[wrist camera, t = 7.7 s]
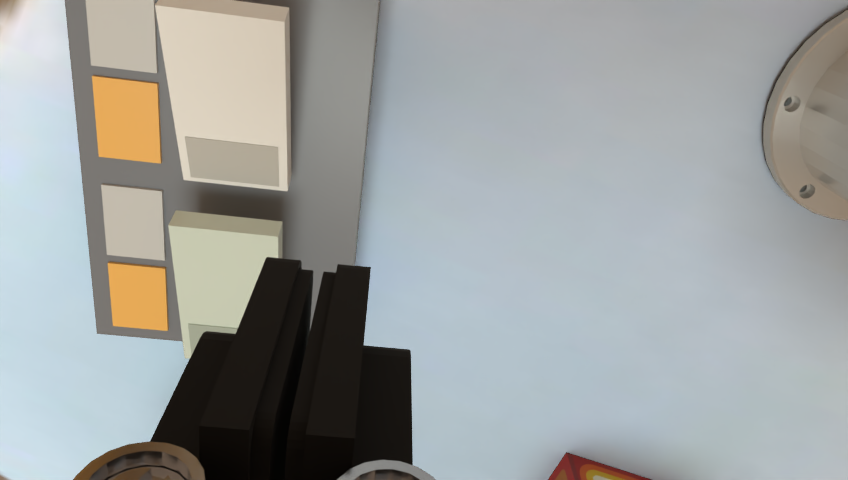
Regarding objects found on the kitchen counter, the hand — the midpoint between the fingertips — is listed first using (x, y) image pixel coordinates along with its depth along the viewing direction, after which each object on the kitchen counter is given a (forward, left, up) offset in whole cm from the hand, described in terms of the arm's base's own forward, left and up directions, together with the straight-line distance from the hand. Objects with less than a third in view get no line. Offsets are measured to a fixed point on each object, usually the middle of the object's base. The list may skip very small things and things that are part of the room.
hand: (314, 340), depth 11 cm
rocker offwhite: (+6, +2, -21) cm, 22 cm away
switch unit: (+7, +7, -27) cm, 29 cm away
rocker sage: (+6, +12, -21) cm, 25 cm away
